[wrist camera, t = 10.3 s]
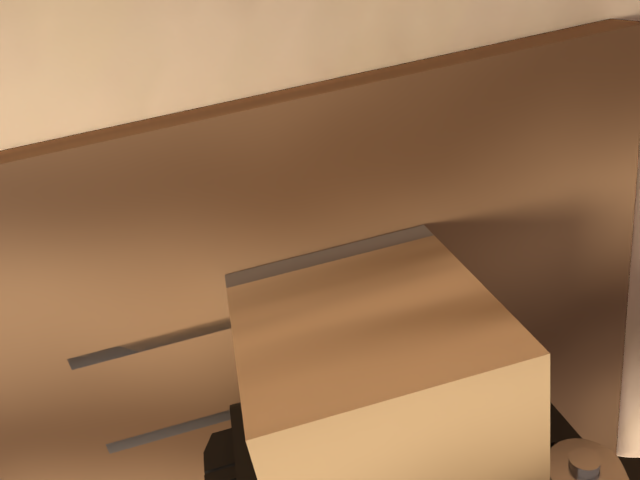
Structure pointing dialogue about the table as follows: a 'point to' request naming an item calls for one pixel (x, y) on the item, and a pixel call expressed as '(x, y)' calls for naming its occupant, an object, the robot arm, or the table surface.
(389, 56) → the table surface
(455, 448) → the block
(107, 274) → the board
